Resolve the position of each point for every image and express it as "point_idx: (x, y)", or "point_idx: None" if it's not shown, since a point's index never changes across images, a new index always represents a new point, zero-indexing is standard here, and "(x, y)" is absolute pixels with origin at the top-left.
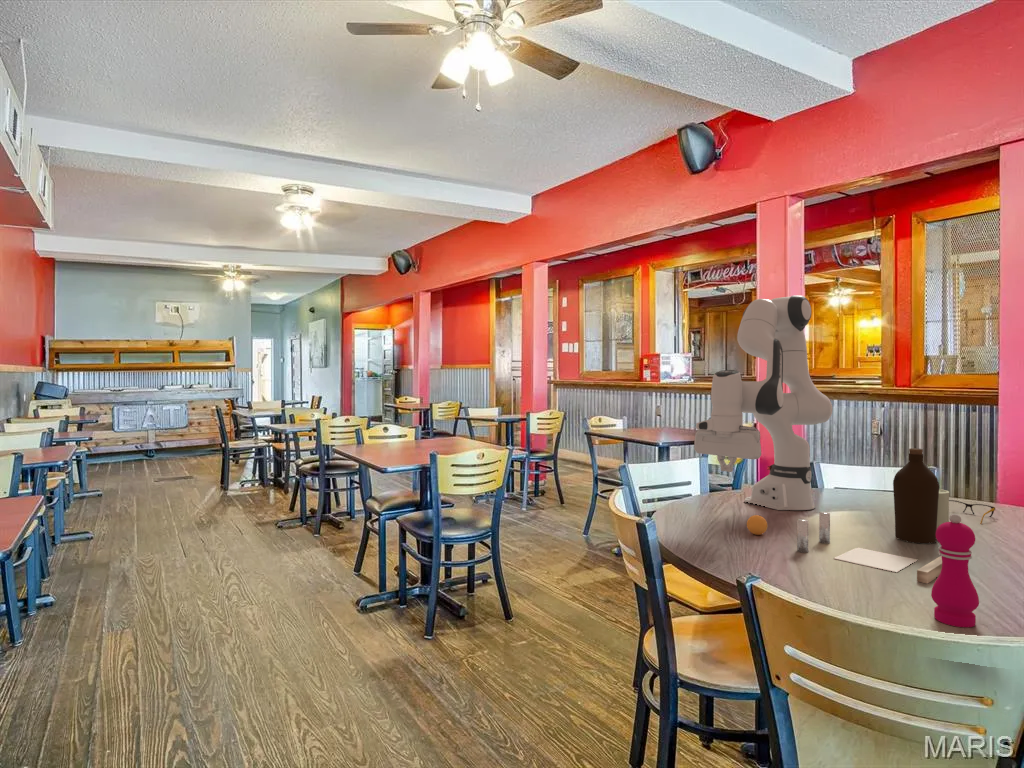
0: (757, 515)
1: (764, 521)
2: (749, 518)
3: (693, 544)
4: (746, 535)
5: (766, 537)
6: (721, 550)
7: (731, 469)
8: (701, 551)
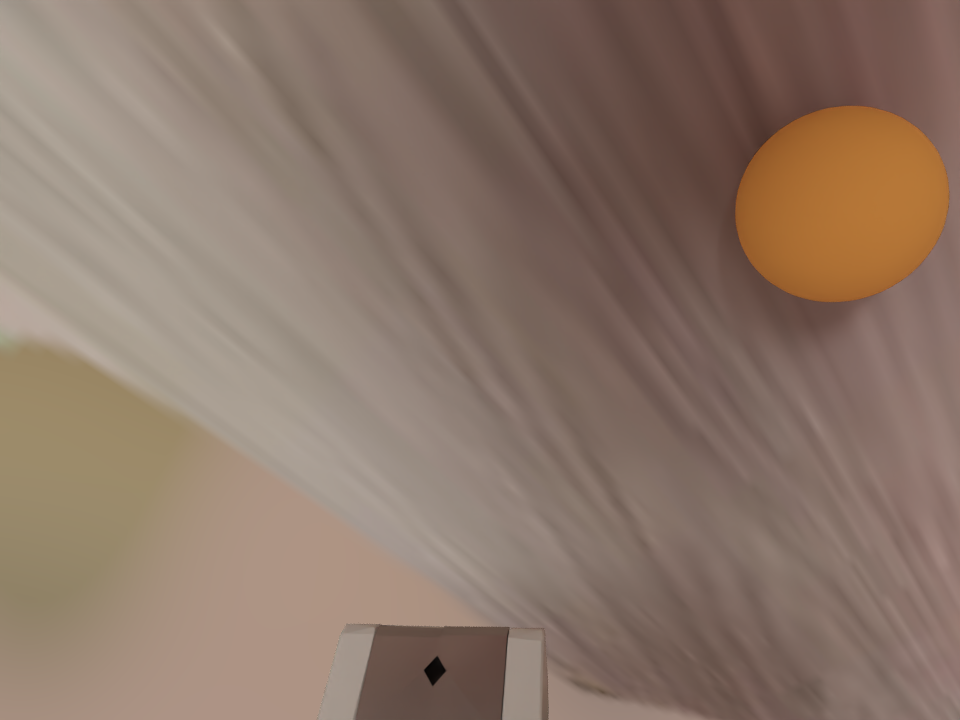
0: (873, 253)
1: (941, 230)
2: (787, 281)
3: (609, 589)
4: None
5: None
6: (775, 584)
7: (545, 692)
8: (705, 637)
